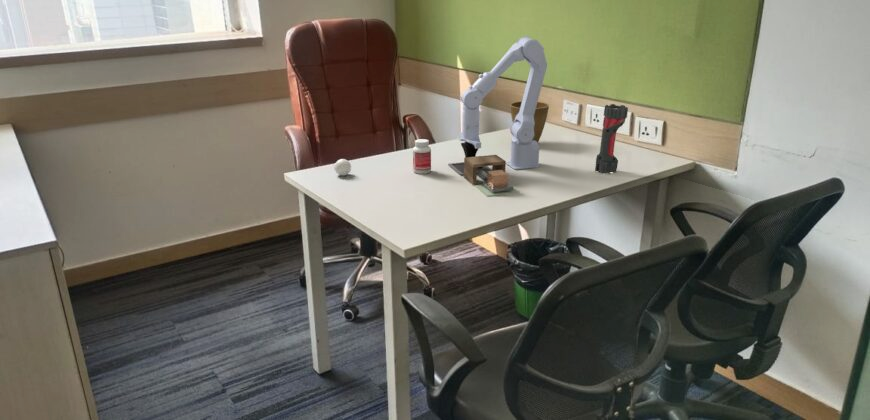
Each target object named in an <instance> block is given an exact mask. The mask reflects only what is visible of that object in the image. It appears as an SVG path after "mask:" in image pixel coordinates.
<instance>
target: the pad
mask: <svg viewBox="0 0 870 420" xmlns="http://www.w3.org/2000/svg"><path fill="white" fill-rule="evenodd" d="M474 186H475V188H476V189H478V190H479V191H480V192H481V193H482V194H483V195H485V196H486V197H493V196H494V197H495V196H503V195H510V194H519V193H520V190H518V189H517V188H516V187H514V186H513V190H508V191H500V192H492V191H490V190H489V189H488V188H487V187H485V186H484V185H483V184H476V185H474Z"/></svg>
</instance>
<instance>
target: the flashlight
mask: <svg viewBox="0 0 870 420" xmlns="http://www.w3.org/2000/svg"><path fill="white" fill-rule="evenodd" d="M628 109H629V108H628V107H627V106H626V105H624V104H623V105H622V104H621V105H616V104H615V103H611V104H609V105H608V104H606V105H604V111H603V116H604V117H603V121H602V129H601V131H602V133H601V140H600V147H599V148H600V149H599V153H598V154H597V155H596V159H595V167H594V171H595V172H596V171H599V172H598V173H601V174H603V173H605V174H606V173H609V172H614V171H616V170H618V164H619V159H618V158H617V157H616V156H615V155H614V149H615V144H616V136H617V135H616V134H617V131H618V130H619V129H620V128H621V127H622V126H623V125H624V124H625V122H626V119H627V118H628V113H629V111H628ZM616 172H617V171H616ZM614 173H615V172H614Z"/></svg>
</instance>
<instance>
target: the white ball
mask: <svg viewBox="0 0 870 420" xmlns="http://www.w3.org/2000/svg"><path fill="white" fill-rule="evenodd" d="M334 171H335V172H336V174H338V175H339V176H343V177H344V176H347V175H349V174H350V173H351V171H352V165H351V162H350V161H349V160H347V159H345V158H340V159H337V161H336V162H335V163H334Z"/></svg>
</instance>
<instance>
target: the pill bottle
mask: <svg viewBox="0 0 870 420" xmlns="http://www.w3.org/2000/svg"><path fill="white" fill-rule="evenodd" d="M429 142H430V141H429V139H425V138H421V139H420V138H419V139H416V140H414V145H415V146H414V147H413V148H412V167H413V169H412V170H413V172H414V173H415V174H419V175H426V174H429V173H431V171H432V149H431V147H430V146H429V144H430V143H429Z"/></svg>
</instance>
